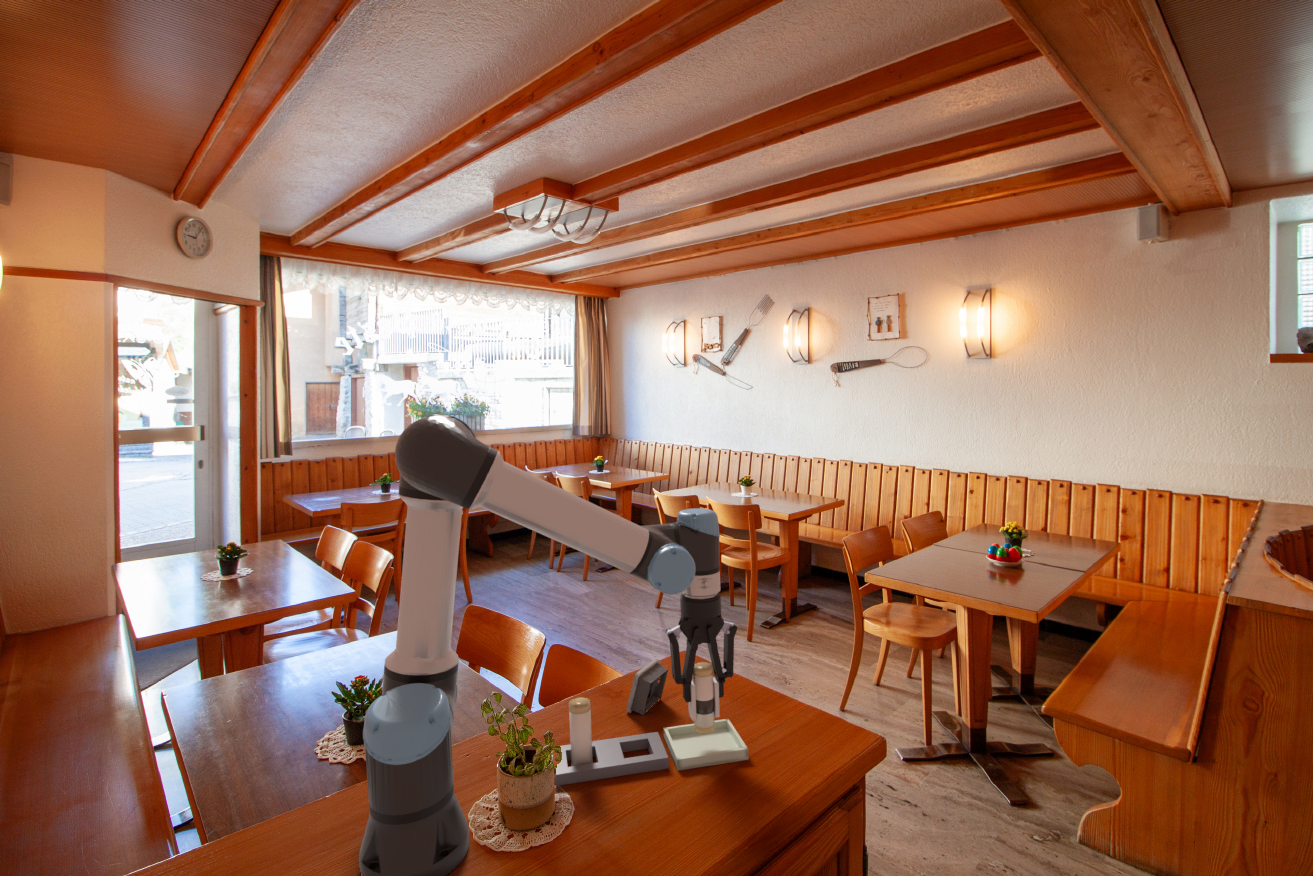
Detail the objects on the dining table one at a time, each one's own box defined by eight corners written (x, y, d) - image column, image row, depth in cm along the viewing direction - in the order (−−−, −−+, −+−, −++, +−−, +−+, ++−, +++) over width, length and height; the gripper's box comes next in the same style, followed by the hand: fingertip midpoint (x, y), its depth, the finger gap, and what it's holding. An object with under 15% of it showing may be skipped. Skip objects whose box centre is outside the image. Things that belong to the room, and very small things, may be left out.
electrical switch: (647, 694, 142) (649, 655, 141) (668, 701, 140) (670, 661, 138) (625, 713, 134) (627, 672, 133) (646, 721, 131) (648, 679, 130)
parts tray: (677, 770, 113) (677, 759, 113) (663, 737, 124) (663, 728, 124) (748, 759, 116) (748, 749, 116) (728, 728, 127) (728, 718, 126)
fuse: (572, 774, 113) (569, 709, 112) (570, 762, 116) (568, 699, 116) (593, 771, 114) (591, 706, 113) (591, 759, 117) (589, 696, 116)
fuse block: (555, 786, 110) (555, 775, 109) (552, 757, 118) (552, 747, 118) (668, 768, 114) (668, 757, 114) (658, 741, 123) (657, 731, 122)
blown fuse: (692, 725, 121) (690, 663, 120) (711, 722, 122) (709, 661, 121) (697, 735, 117) (695, 672, 116) (717, 732, 118) (715, 669, 117)
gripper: (660, 604, 112) (664, 732, 114) (750, 594, 116) (753, 719, 117) (651, 591, 120) (655, 712, 121) (736, 583, 123) (740, 700, 125)
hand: (704, 715), depth 119 cm, fingers closed on blown fuse, 4 cm apart
